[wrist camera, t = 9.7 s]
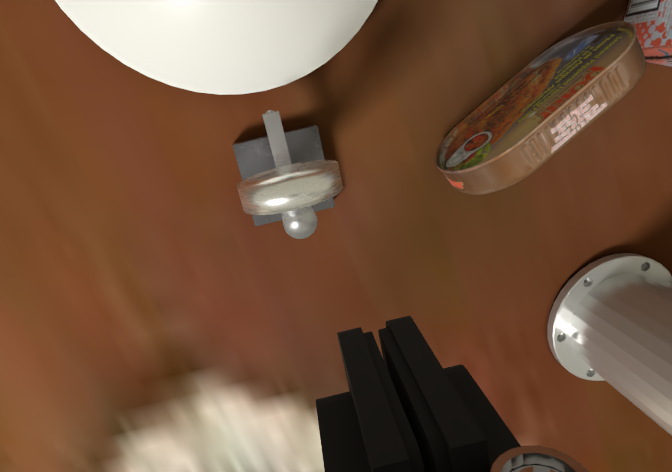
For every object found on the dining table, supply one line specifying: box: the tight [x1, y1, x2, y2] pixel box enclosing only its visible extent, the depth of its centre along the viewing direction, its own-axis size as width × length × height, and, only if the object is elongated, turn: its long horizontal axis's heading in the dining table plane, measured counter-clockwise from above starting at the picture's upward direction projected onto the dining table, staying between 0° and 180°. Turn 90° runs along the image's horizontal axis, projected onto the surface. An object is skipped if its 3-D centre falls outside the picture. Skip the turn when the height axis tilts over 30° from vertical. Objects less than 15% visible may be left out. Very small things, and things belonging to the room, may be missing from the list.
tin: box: [435, 21, 646, 195], centre depth 32 cm, size 15×3×8 cm, turn 129°
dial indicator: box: [233, 110, 343, 239], centre depth 27 cm, size 6×8×14 cm
